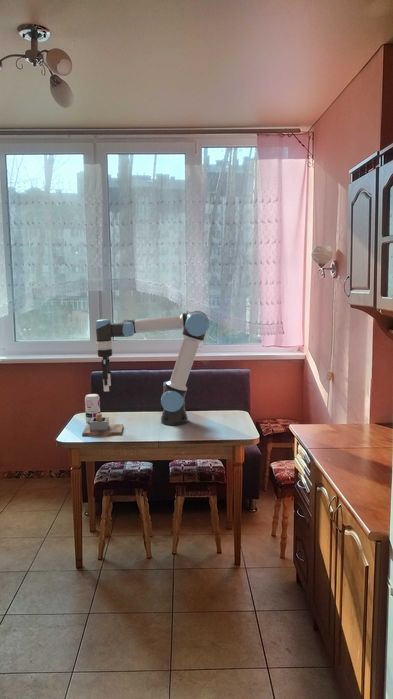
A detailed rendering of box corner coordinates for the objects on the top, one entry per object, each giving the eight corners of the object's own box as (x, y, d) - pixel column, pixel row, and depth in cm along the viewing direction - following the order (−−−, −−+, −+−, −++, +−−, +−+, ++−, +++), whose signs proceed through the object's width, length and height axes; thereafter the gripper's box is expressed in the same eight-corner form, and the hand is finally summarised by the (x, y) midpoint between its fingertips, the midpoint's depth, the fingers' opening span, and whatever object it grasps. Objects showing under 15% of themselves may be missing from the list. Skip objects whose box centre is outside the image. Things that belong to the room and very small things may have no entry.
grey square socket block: (109, 425, 270) (108, 416, 269) (107, 431, 261) (106, 421, 260) (92, 426, 269) (91, 417, 268) (89, 431, 260) (89, 422, 259)
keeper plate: (123, 426, 273) (122, 409, 271) (121, 434, 259) (120, 417, 258) (86, 427, 272) (85, 410, 270) (82, 436, 258) (81, 418, 256)
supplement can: (100, 418, 289) (99, 393, 287) (100, 422, 281) (99, 396, 279) (86, 419, 288) (85, 393, 286) (85, 423, 280) (84, 397, 278)
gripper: (99, 346, 274) (102, 383, 278) (95, 352, 250) (98, 394, 253) (113, 345, 275) (115, 383, 278) (110, 351, 251) (113, 393, 254)
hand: (107, 388), depth 266 cm, fingers open, 13 cm apart
